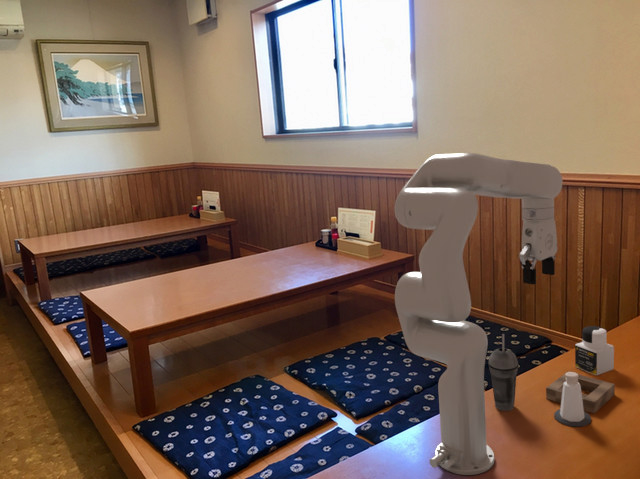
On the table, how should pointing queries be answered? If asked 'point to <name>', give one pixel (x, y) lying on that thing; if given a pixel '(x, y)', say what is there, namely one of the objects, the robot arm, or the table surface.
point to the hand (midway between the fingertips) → (539, 278)
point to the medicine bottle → (594, 351)
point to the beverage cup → (503, 377)
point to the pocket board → (595, 387)
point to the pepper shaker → (572, 399)
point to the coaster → (573, 424)
